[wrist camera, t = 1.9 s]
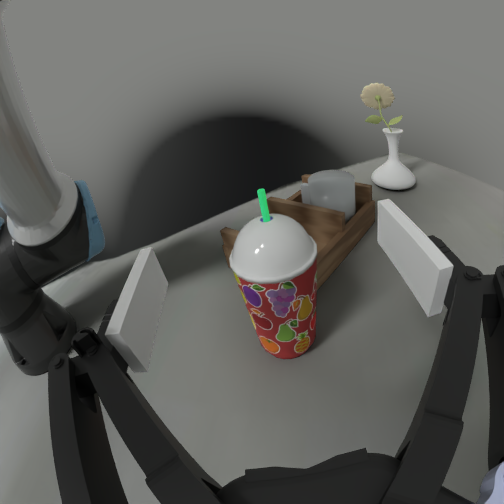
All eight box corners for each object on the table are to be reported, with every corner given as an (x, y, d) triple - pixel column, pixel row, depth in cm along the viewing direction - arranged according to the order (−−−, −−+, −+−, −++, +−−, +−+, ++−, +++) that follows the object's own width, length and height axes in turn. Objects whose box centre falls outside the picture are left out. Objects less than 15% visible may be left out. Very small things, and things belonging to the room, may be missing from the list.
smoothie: (310, 309, 39) (293, 165, 28) (332, 356, 32) (326, 197, 21) (250, 326, 39) (209, 186, 28) (262, 377, 32) (215, 225, 21)
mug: (362, 218, 53) (361, 173, 48) (343, 240, 48) (341, 191, 43) (316, 208, 59) (311, 166, 54) (294, 226, 55) (287, 181, 50)
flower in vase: (418, 180, 65) (417, 83, 51) (411, 198, 59) (409, 86, 45) (372, 172, 73) (365, 80, 59) (359, 188, 66) (350, 83, 53)
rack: (228, 267, 51) (217, 229, 47) (306, 205, 64) (302, 173, 60) (307, 301, 41) (302, 258, 37) (374, 221, 54) (374, 185, 50)
